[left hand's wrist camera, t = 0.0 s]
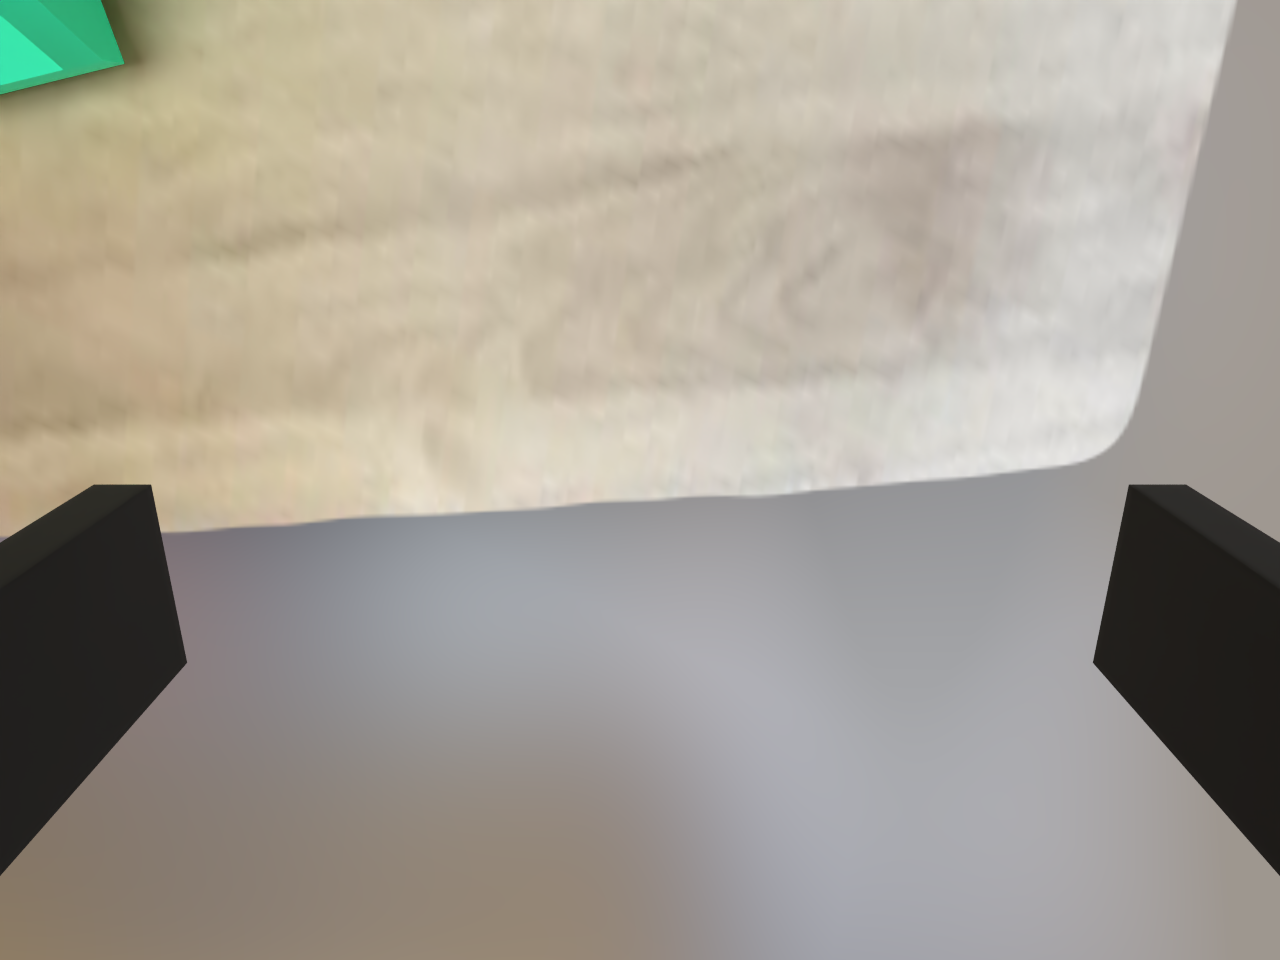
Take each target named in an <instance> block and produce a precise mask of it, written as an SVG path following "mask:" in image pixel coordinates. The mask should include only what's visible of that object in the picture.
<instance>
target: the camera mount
mask: <svg viewBox="0 0 1280 960" xmlns="http://www.w3.org/2000/svg"><path fill="white" fill-rule="evenodd" d="M122 64H125V63H124V61H123V58H122V55H121V53H120V50H119V47H118V45H117V42H116V39H115V37H114V34H113V31H112V29H111V26H110V24H109V21H108V18H107V16H106V13H105V10H104V8H103V5H102V2H101V0H0V94H4V93H8V92H12V91H16V90H20V89H24V88H28V87H32V86H36V85H40V84H45V83H49V82H53V81H57V80H61V79H65V78H69V77H73V76H77V75H81V74H85V73H89V72H93V71H97V70H101V69H105V68H110V67H114V66H118V65H122Z"/></svg>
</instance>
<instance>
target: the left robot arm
mask: <svg viewBox="0 0 1280 960" xmlns="http://www.w3.org/2000/svg"><path fill="white" fill-rule="evenodd" d="M186 663H187V660H186V655H185V650H184V645H183V640H182V635H181V631H180V626H179V621H178V616H177V611H176V606H175V601H174V596H173V591H172V586H171V581H170V576H169V571H168V566H167V561H166V556H165V552H164V546H163V542H162V537H161V532H160V527H159V522H158V517H157V512H156V507H155V502H154V497H153V492H152V487H151V485H93V486H91V487H89V488H88V489H86V490H85V491H83V492H81V493H80V494H78V495H77V496H75V497H73V498H72V499H70V500H68V501H67V502H65V503H64V504H62V505H60V506H59V507H57V508H56V509H54V510H52V511H51V512H49V513H47V514H46V515H44V516H43V517H41V518H39V519H38V520H36V521H35V522H33V523H31V524H30V525H28V526H26V527H25V528H23V529H22V530H20V531H18V532H17V533H15V534H14V535H12V536H10V537H9V538H7V539H6V540H4V541H2V542H1V543H0V875H1V874H2V873H3V872H4V871H5V870H6V869H7V867H8V866H9V865H10V864H11V863H12V862H13V861H14V859H15V858H16V857H17V856H18V855H19V854H20V853H21V851H22V850H23V849H24V848H25V847H26V846H27V845H28V844H29V842H30V841H31V840H32V839H33V838H34V837H35V836H36V834H37V833H38V832H39V831H40V830H41V829H42V828H43V826H44V825H45V824H46V823H47V822H48V821H49V820H50V818H51V817H52V816H53V815H54V814H55V813H56V812H57V810H58V809H59V808H60V807H61V806H62V805H63V804H64V802H65V801H66V800H67V799H68V798H69V797H70V796H71V794H72V793H73V792H74V791H75V790H76V789H77V788H78V786H79V785H80V784H81V783H82V782H83V781H84V780H85V778H86V777H87V776H88V775H89V774H90V773H91V772H92V771H93V769H94V768H95V767H96V766H97V765H98V764H99V763H100V761H101V760H102V759H103V758H104V757H105V756H106V755H107V753H108V752H109V751H110V750H111V749H112V748H113V747H114V745H115V744H116V743H117V742H118V741H119V740H120V739H121V737H122V736H123V735H124V734H125V733H126V732H127V731H128V729H129V728H130V727H131V726H132V725H133V724H134V723H135V721H136V720H137V719H138V718H139V717H140V716H141V715H142V714H143V712H144V711H145V710H146V709H147V708H148V707H149V706H150V704H151V703H152V702H153V701H154V700H155V699H156V698H157V696H158V695H159V694H160V693H161V692H162V691H163V690H164V688H165V687H166V686H167V685H168V684H169V683H170V682H171V680H172V679H173V678H174V677H175V676H176V675H177V674H178V672H179V671H180V670H181V669H182V668H183V667H184V666H185V664H186ZM1093 663H1094V664H1095V666H1096V667H1097V668H1098V669H1099V670H1100V671H1101V672H1102V674H1103V675H1104V676H1105V677H1106V678H1107V679H1108V680H1109V682H1110V683H1111V684H1112V685H1113V686H1114V687H1115V688H1116V690H1117V691H1118V692H1119V693H1120V694H1121V695H1122V696H1123V697H1124V699H1125V700H1126V701H1127V702H1128V703H1129V704H1130V706H1131V707H1132V708H1133V709H1134V710H1135V711H1136V712H1137V714H1138V715H1139V716H1140V717H1141V718H1142V719H1143V720H1144V722H1145V723H1146V724H1147V725H1148V726H1149V727H1150V728H1151V729H1152V731H1153V732H1154V733H1155V734H1156V735H1157V736H1158V737H1159V739H1160V740H1161V741H1162V742H1163V743H1164V744H1165V745H1166V747H1167V748H1168V749H1169V750H1170V751H1171V752H1172V753H1173V755H1174V756H1175V757H1176V758H1177V759H1178V760H1179V761H1180V763H1181V764H1182V765H1183V766H1184V767H1185V768H1186V769H1187V771H1188V772H1189V773H1190V774H1191V775H1192V776H1193V777H1194V779H1195V780H1196V781H1197V782H1198V783H1199V784H1200V785H1201V786H1202V788H1203V789H1204V790H1205V791H1206V792H1207V793H1208V794H1209V796H1210V797H1211V798H1212V799H1213V800H1214V801H1215V802H1216V804H1217V805H1218V806H1219V807H1220V808H1221V809H1222V810H1223V812H1224V813H1225V814H1226V815H1227V816H1228V817H1229V818H1230V820H1231V821H1232V822H1233V823H1234V824H1235V825H1236V826H1237V828H1238V829H1239V830H1240V831H1241V832H1242V833H1243V834H1244V836H1245V837H1246V838H1247V839H1248V840H1249V841H1250V842H1251V843H1252V845H1253V846H1254V847H1255V848H1256V849H1257V850H1258V851H1259V853H1260V854H1261V855H1262V856H1263V857H1264V858H1265V859H1266V861H1267V862H1268V863H1269V864H1270V865H1271V866H1272V867H1273V869H1274V870H1275V871H1276V872H1277V873H1278V874H1279V875H1280V543H1279V542H1278V541H1276V540H1274V539H1273V538H1271V537H1270V536H1268V535H1266V534H1265V533H1263V532H1262V531H1260V530H1258V529H1257V528H1255V527H1254V526H1252V525H1250V524H1249V523H1247V522H1245V521H1244V520H1242V519H1241V518H1239V517H1237V516H1236V515H1234V514H1233V513H1231V512H1229V511H1228V510H1226V509H1224V508H1223V507H1221V506H1220V505H1218V504H1216V503H1215V502H1213V501H1212V500H1210V499H1208V498H1207V497H1205V496H1204V495H1202V494H1200V493H1199V492H1197V491H1195V490H1194V489H1192V488H1191V487H1189V486H1187V485H1129V487H1128V492H1127V497H1126V502H1125V507H1124V512H1123V517H1122V522H1121V527H1120V532H1119V537H1118V542H1117V546H1116V551H1115V556H1114V561H1113V566H1112V571H1111V576H1110V581H1109V586H1108V591H1107V596H1106V601H1105V606H1104V611H1103V616H1102V621H1101V626H1100V630H1099V635H1098V640H1097V645H1096V650H1095V655H1094V660H1093Z"/></svg>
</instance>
